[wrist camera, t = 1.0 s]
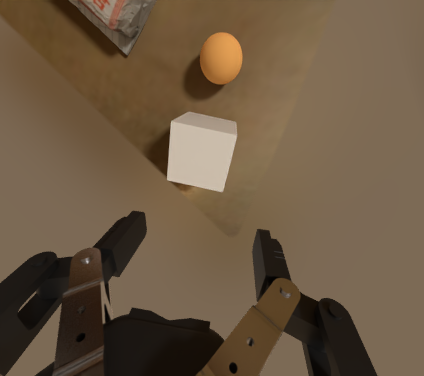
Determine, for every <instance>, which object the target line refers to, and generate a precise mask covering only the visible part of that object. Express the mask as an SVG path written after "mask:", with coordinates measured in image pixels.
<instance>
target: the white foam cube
mask: <svg viewBox="0 0 424 376" xmlns="http://www.w3.org/2000/svg"><path fill="white" fill-rule="evenodd" d="M236 138H237V126H236V122H234V121H230V120H225V119H220V118H216V117H211V116H207V115H202V114H197V113H193V112H187V113H185V114H184V115H182V116H180V117H178V118H176V119H174V120H172V121H171V130H170V144H169V159H168V173H167V180H168V181H173V182H178V183H182V184H187V185H192V186H196V187H201V188H206V189H210V190H215V191H219V192H223V190H224V186H225V182H226V178H227V174H228V170H229V166H230V162H231V158H232V154H233V150H234V146H235V142H236Z"/></svg>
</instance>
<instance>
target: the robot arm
mask: <svg viewBox="0 0 424 376" xmlns="http://www.w3.org/2000/svg"><path fill="white" fill-rule="evenodd" d="M146 230H147V227H146V219H145V213H144V212H139V211H132V212H131V213H130V214H129V215H128V216H127V217H123V218H121V219H120V220H118V221H117V222H116V223H115V224H114V225H113V226H112V227H111V228H110V229H109V231H108V232H106V233H105V235H104V236H103V237H102V238H101V239H100V240H99V241H98V242H97V243H96V244H95V245H94V246H93V247H92V248H87V249H84V250H81V251H80V252H78V253H77V254H75V255H74V256H73V257H64V258H57V256H56V254H55V253H54V252H42V253H39V254H37V255H34V256H33V257H31V258H29V259H28V260H27V261H26V262H25V263H23V264H22V265H21V266H20V267H19V268H17V269H16V270H15V271H14V272H13V273H12V274H10V275H9V276H8V277H7V278H6V279H5V280H3V281H2V282H1V283H0V376H5V375H6V374H7V373H8V372H9V370H10V369H11V368H12V366H13V365H14V364H15V362H16V361H17V360H18V359H19V357H20V356H21V355H22V353H23V352H24V351H25V349H26V348H27V347H28V345H29V344H30V343H31V342H32V340H33V339H34V338H35V337H36V335H37V334H38V333H39V331H40V330H41V329H42V328H43V326H44V325H45V324H46V322H47V321H48V320H49V318H50V317H51V316H52V315H53V313H54V312H55V311H56V309H57V308H58V307H59V305H60V304H61V303H62V306H61V313H60V322H59V330H58V338H57V346H56V354H55V361H54V362H53V363H52V364H50V365H49V366H47V367H46V368H45V369H43V370H42V371H40V372H39V373H38V374H36V375H35V376H259V375H260V373H261V371H262V369H263V368H264V366H265V364H266V362H267V360H268V358H269V357H270V355H271V353H272V351H273V349H274V347H275V346H276V344H277V342H278V340H279V338H280V336H281V335H282V333H283V331H284V332H286V333H287V334H289V335H291V336H293V337H295V338H296V339H298V340H300V341H302V345H303V350H304V355H305V359H306V364H307V369H308V374H309V376H377V374H376V372H375V369H374V367H373V365H372V363H371V361H370V358H369V356H368V354H367V352H366V349H365V347H364V345H363V343H362V341H361V338H360V336H359V334H358V332H357V329H356V327H355V325H354V323H353V321H352V319H351V316H350V314H349V313H348V311H347V310H346V309H345V308H344V307H343V306H342V305H341V304H340V303H338V302H337V301H335V300H333V299H330V298H323V299H321V300H320V301H319V302H318V301H316V300H314V299H312V298H310V297H308V296H305V295H304V294H302V293H301V292H300V291H299V289H298V288H297V286H296V285H295V284H294V283H293V282H292V281H291V278H290V274H289V271H288V268H287V264H286V260H285V257H284V254H283V250H282V247H281V245H280V243H279V242H278V241H277V240H276V239H271V236H270V232H269V230H262V229H257V232H256V236H255V240H254V244H253V251H252V253H253V265H254V275H255V287H256V298H257V302H258V303H257V304H256V305H255V306H252V307H251V308H250V309H249V310H248V311H247V313H246V314H245V315H244V317H243V318H242V319H241V320H240V322H239V323H238V324H237V326H236V327H235V328H234V329H233V331H232V332H231V333H230V335H229V336H228V337H227V339H226V340H225V341H224V339H223V338H222V337H221V336H220V335H219V334H218V333H216V332H215V331H214V330H212V329H210V328H209V327H210V322H209V321H203V320H198V319H192V318H189V319H178V320H167V319H165V318H163V317H161V316H159V315H157V314H156V313H154V312H152V311H149V310H143V309H138V308H132V309H131V311H130V313H129V314H127V315H122V316H120V317H117V318H114V317H113V312H112V303H111V293H110V283H109V280H110V278H111V277H112V276H115V277H120V275H121V273H122V272H123V270H124V269H125V267H126V266H127V264H128V263H129V261H130V259H131V258H132V256H133V255H134V253H135V252H136V250H137V248H138V247H139V245H140V244H141V242H142V241H143V239H144V238H145V235H146V232H147V231H146ZM35 291H36V292H37V293H36V294H35V295H34V296H33V297H32V298H31V299H30V300H29V301H28V303H27V304H26V305H25V306H24V307H23V308H22V309H21V310H20V311H19V309H20V307H21V306H22V305H23V304H24V302H26V300H27V299H28V298H29V297H30V296H31V295H32V294H33V293H34V292H35ZM18 311H19V312H18Z"/></svg>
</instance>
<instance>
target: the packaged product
mask: <svg viewBox="0 0 424 376" xmlns="http://www.w3.org/2000/svg"><path fill="white" fill-rule="evenodd" d="M69 1H70V2H71V3H72V4H74V5H75V6H76V7H77V8H78V10H79V11H81V12H82V13H83V14H84V15H85V16H86V17H87V18H88V19H89V20H90V21H91V22H92V23H93V24H94V25H95V26H97V27H98V28H99V29H100V30H101V31H102V32H103V33H104V34H105V35H106V36H107V37H108V38H109V39H110V40H111V41H112V42H113V43H115V44H116V45H117V46H118V47H119V48H120V49H121V50H122V51H123V52H124V53H125V54H126V55H129V53H130V51H131V49H132V47H133V46H134V44H135V42H136V40H137V38H138V36H139V34H140V32H141V31H142V29H143V27H144V25H145V23H146V21H147V18H148V16H149V14H150V12H151V10H152V8H153V6H154V5H155V3H156V1H157V0H69Z"/></svg>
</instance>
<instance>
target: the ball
mask: <svg viewBox="0 0 424 376" xmlns="http://www.w3.org/2000/svg"><path fill="white" fill-rule="evenodd" d="M200 65H201V69H202V72H203V73H204V75H205V77H206V78H207V79H208V80H209V81H211V82H213V83H215V84H226V83H229V82H230V81H232V80H233V79H234V78H235V77H236V76H237V74H238V73H239V71H240V69H241V65H242V50H241V47H240V45H239V43H238V41H237V40H236V39H235V38H234V37H233V36H232V35H230V34H228V33H223V32H221V33H216V34H213V35H212V36H210V37H209V38H208V39H207V40H206V41H205V43H204V45H203V47H202V49H201V53H200Z"/></svg>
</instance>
